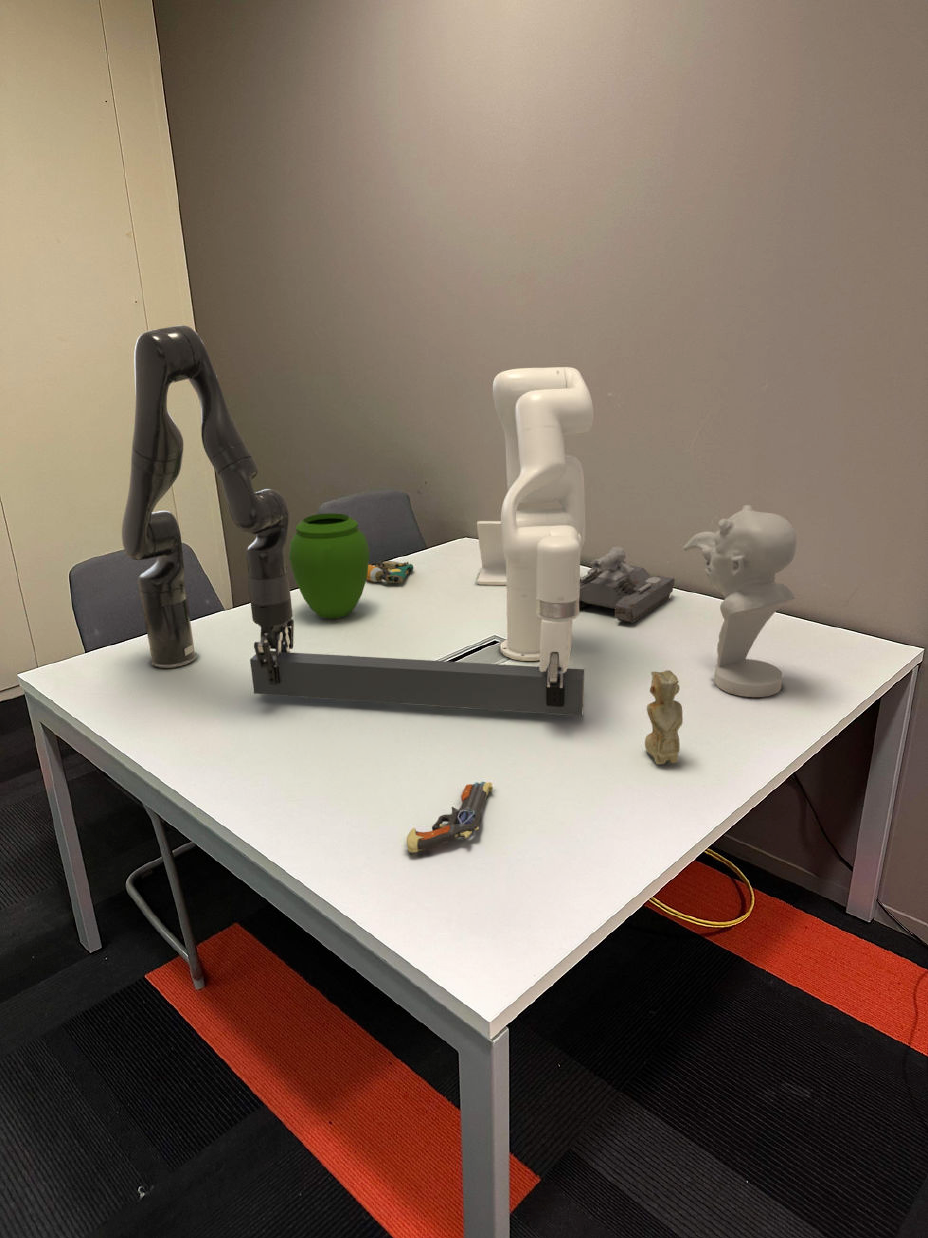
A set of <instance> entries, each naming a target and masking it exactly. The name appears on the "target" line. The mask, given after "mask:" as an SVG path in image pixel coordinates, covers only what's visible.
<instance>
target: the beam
mask: <svg viewBox="0 0 928 1238" xmlns="http://www.w3.org/2000/svg"><path fill="white" fill-rule="evenodd" d="M272 658H273V661H274V656H273V655H272ZM263 660H264V659H263ZM249 664H250V671H251V678H252V685H253V686H252V687H253V693H254V695H268V696H283V697H284V696H285V697H297V698H298V697H301V698H312V699H313V698H314V699H326V700H327V699H328V700H329V699H330V700H344V701H356V702H357V701H359V702H370V703H371V702H373V703H389V704H403V705H417V706H430V707H431V706H433V707H445V708H446V707H448V708H463V709H476V710H491V711H492V710H493V711H506V712H507V711H508V712H522V713H535V714H536V713H537V714H548V715H549V714H552V715H565V716H578V717H579V716H581V717H582V716H583V712H584V707H585V706H584V705H585V671H586V669H585V668H569V667H567V671H566V672H565V673H563V686H565V687H564V706H563V707H555V706H547V705H546V686H547V678H548V667H547V670H546V671H543V672H541V671H540V670H539V667H540V666H536V665H535V666H534V665H517V664H516V665H515V664H499V663H482V662H481V663H480V662H466V661H465V662H462V661H447V660H445V661H444V660H431V659H430V660H429V659H411V658H394V657H376V656H375V657H374V656H359V655H341V654H326V653H325V654H322V653H309V652H308V653H305V652H304V653H303V652H291V651H290V652H281V654H280V655H279V656H278V666H279V674H280V683H279V684H278V685H270V684H269V683H268V675H267V668H260V665H259V662H258V659H257V655H256V653H255V654H254V655H253V656H252V657H251V658H250V659H249ZM550 668H551V667H550ZM558 670H561V668H558ZM557 675H558V677H559V678H560V674H557Z"/></svg>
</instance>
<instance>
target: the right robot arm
mask: <svg viewBox="0 0 928 1238" xmlns="http://www.w3.org/2000/svg"><path fill="white" fill-rule="evenodd" d="M492 398H493V403H494V407H495V411H496V414H497V417H498V420H499V422H500V424H501V427H502V431H503V434H504V441H505V466H506V467H505V468H506V487H507V492H506V495H505V497H504V499H503V502H502V506H501V511H500V521H501V531H502V545H503V553H504V558H505V560H506V576H507V585H506V639H505V640H503V641H502V642H501V643H500V646H499V647H500V653H501V654H502V655H503V656H504V657H506V658H508V659H512V660H514V661H515V660H516V661H522V662H535V661H536V662H537V661H539V666H538V667H539V670H540V671H541V672H543V671H546V670H547V667H548V678H547V686H546V705H547V706H555V707H563V706H564V687H565V686H563V673H565V672H566V671H567V668H569V662H570V657H571V650H572V640H573V620H575V619H577V618H578V617H579V616H580V609H579V592H580V578H581V554H582V549H583V547H584V546H585V541H586V499H585V498H586V496H585V495H586V494H585V490H586V489H585V488H586V487H585V475H584V468H583V465H582V463H581V462H580V460H579V459H578V458H577V457H575V456H574V455H569V454H566V451H565V440H564V436H566V435H567V436H568V435H581V434H582V435H583V434H587V433H588V432H589V431H590V430H591V429H592V427H593V423H594V415H595V414H594V413H595V411H594V404H593V400H592V397H591V393H590V390H589V388H588V386H587V384H586V382H585V380H584V378H583V376H582V374H581V372H580V371H579V370H578V369H577V368H574V367H570V366H557V367H555V366H554V367H522V368H513V369H508V370H503V371H500V372H499V373H498V374H496V376H495V377H494V378H493V382H492ZM520 503H521V504H534V503H535V504H536V503H560V504H561V507H557V508H556V507H555V508H531V509H530V508H529V509H528V508H527V509H519V510H518V507H519V505H520ZM550 667H551V668H550ZM558 668H561V670H558ZM557 674H560V678H559V677H558V675H557Z"/></svg>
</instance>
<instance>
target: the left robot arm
mask: <svg viewBox="0 0 928 1238" xmlns="http://www.w3.org/2000/svg"><path fill="white" fill-rule="evenodd" d="M185 380H186V381H187V380H188V381H189V383H190V385H191V386H192V388H193V389H194V391H195V393H196V396H197V398H198V401H199V402H198V403H199V407H200V436H201V443H202V447H203V449H204V452H205V454H206V456H207V458H208V460H209V462H210V464H211V465H212V467H213V469H214V470H215V472H216V474H217V476H218V478H219V480H220V481H221V485H222V489H223V492H224V497H225V500H226V504H227V508H228V513H229V514H230V517H231V519H232V521H233V523H234V524H235V526H236V527H237V528H238V529H240V531H242V533H243V532H244V534H248V535H252V536H253V535H256V536H255V539H254V541H253V542H252V543H250V544H249V545H248V547H247V548H246V551H245V552H246V555H245V556H246V565H247V573H248V575H247V576H248V594H249V601H250V610H251V617H252V621H253V623H254V624H256V625H258V627H260V640H259V641H254V643H253V649H254V652H255V654H256V655H257V659H258V662H259V665H260V668H267V675H268V683H269V684H270V685H278V684H279V683H280V674H279V666H278V656H279V655H280V654H281V652H290V653H291V650H292V649H294V637H295V636H294V632H295V631H294V630H295V629H294V627H295V626H294V625H295V621H294V618H293V607H292V606H293V605H292V597H291V588H290V587H291V586H290V581H289V577H288V571H287V563H286V562H287V561H286V560H287V559H286V555H285V554H286V553H285V550H286V544H287V537H288V530H289V522H290V521H289V520H290V511H289V507H288V503H287V501H286V498H285V497H284V495H282V493H281V492H279V491H278V490H276V489H273V488H265V489H262V490H260V491H256V492H255V490H254V487H253V484H252V480H253V479H254V478H256V476H257V474H258V473H259V467H258V465H257V462H256V460H255V459H254V457H253V455H252V453H251V451H250V450H249V448H248V446H247V444H246V443H245V441H244V439H243V437H242V435H241V433H240V432H239V430H238V427H237V425H236V423H235V420H234V419H233V417H232V414H231V412H230V410H229V406H228V404H227V401H226V398H225V395H224V391H223V390H222V386H221V383H220V381H219V379H218V375H217V374H216V371H215V369H214V366H213V363H212V360H211V357H210V355H209V353H208V351H207V348H206V346H205V344H204V342H203V340H202V338H201V337H200V336H199V334H198V333H197V332H196V330H195V329H193V328H192V327H190V326H188V325H183V324H180V325H173V326H168V327H167V326H166V327H163V328H157V329H151V330H147V331H144V332H143V333H141V334H140V335H139V336H138V338H137V340H136V343H135V347H134V385H135V388H134V389H135V390H134V391H135V406H134V407H135V408H134V411H135V412H134V425H133V426H134V427H133V435H132V442H131V443H132V445H131V453H130V454H131V456H130V475H129V485H128V493H127V499H126V504H125V509H124V513H123V518H122V524H121V541H122V547H123V549H124V551H125V553H126V554H127V556H128V557H129V558H131V559H132V560H135V561H142V560H143V561H145V560H151V559H154V558H157V559H156V561H155V562H154V563H153V564H152V565H151V566H150V567H149V568H147V569H146V570H144V571H143V572H142V573H141V574H140V575H139V576H138V578H137V582H138V588H139V593H140V594H139V595H140V600H141V606H142V611H143V617H144V624H145V628H146V634H147V641H148V647H149V651H150V652H149V653H150V659H151V660H150V661H151V665H152V666H153V667H156V668H160V669H173V668H180V667H183V666H186V665H189V664H192V663H193V662H194V661H195V660H196V659H197V654H196V651H195V644H194V636H193V630H192V623H191V616H190V610H189V602H188V597H187V591H186V584H185V564H184V563H185V562H184V555H183V544H182V534H181V530H180V526H179V522H178V519H176V517H175V515H174V514H173V513H172V512H170V510H169V511H168V510H159V511H154V510H155V507H156V506H157V505H158V503H159V502H160V500H161V499H162V498H163V497H164V496H165V494H166V493H167V492H168V491H169V490H170V489H171V487H172V486H173V484H174V483H175V482H176V480H177V479H178V477H179V475H180V472H181V469H182V462H183V456H184V455H183V454H184V438H183V435H182V433H181V430H180V429H179V427H178V425H177V424H176V422H175V420H174V419H173V418H172V416H171V415H170V413H169V410H168V392H169V387H170V385H171V384H173V383H174V384H175V383H177V382H181V381H185ZM272 655H273V656H274V661H273V658H272ZM263 659H264V660H263Z"/></svg>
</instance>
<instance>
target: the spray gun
mask: <svg viewBox="0 0 928 1238" xmlns="http://www.w3.org/2000/svg"><path fill="white" fill-rule="evenodd" d="M413 570H414V565H413V564H412V563H409V561H406V562H398V561H393V560H386V561H385V560H384V561H383V560H382V561H381V560H379V561H375V562H374V564H373V565H372V564H368V573H367V578H366V581H370V582H373V583H379V582H381V581H382V580H383V581H385V582H387V583H391V584H393V583H394V584H402V583H403V582H404V581H405V579H406V578H407V575H408V574H409V573H412V572H413Z"/></svg>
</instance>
